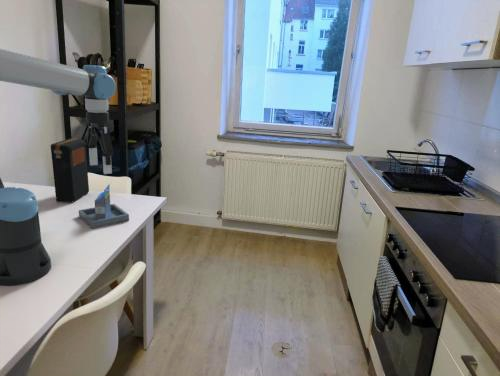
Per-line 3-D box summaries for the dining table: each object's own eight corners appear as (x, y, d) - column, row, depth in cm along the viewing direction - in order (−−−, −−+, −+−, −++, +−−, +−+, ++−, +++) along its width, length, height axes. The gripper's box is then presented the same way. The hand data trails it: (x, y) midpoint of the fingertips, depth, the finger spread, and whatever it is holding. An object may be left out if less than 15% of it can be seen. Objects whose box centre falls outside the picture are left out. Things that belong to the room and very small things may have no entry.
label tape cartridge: (101, 212, 149) (99, 183, 145) (111, 212, 150) (109, 183, 146) (95, 221, 141) (93, 190, 137) (106, 221, 141) (104, 190, 138)
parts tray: (129, 220, 145) (128, 214, 144) (92, 228, 136) (91, 222, 135) (114, 209, 155) (114, 203, 154) (79, 216, 146) (78, 210, 145)
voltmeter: (73, 191, 173) (68, 137, 165) (91, 192, 172) (87, 138, 165) (53, 202, 158) (47, 143, 151) (73, 204, 158) (67, 145, 150)
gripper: (122, 115, 127) (124, 175, 133) (95, 106, 144) (98, 160, 150) (99, 115, 122) (103, 178, 128) (74, 107, 139) (78, 162, 146)
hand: (100, 169), depth 139 cm, fingers open, 13 cm apart
